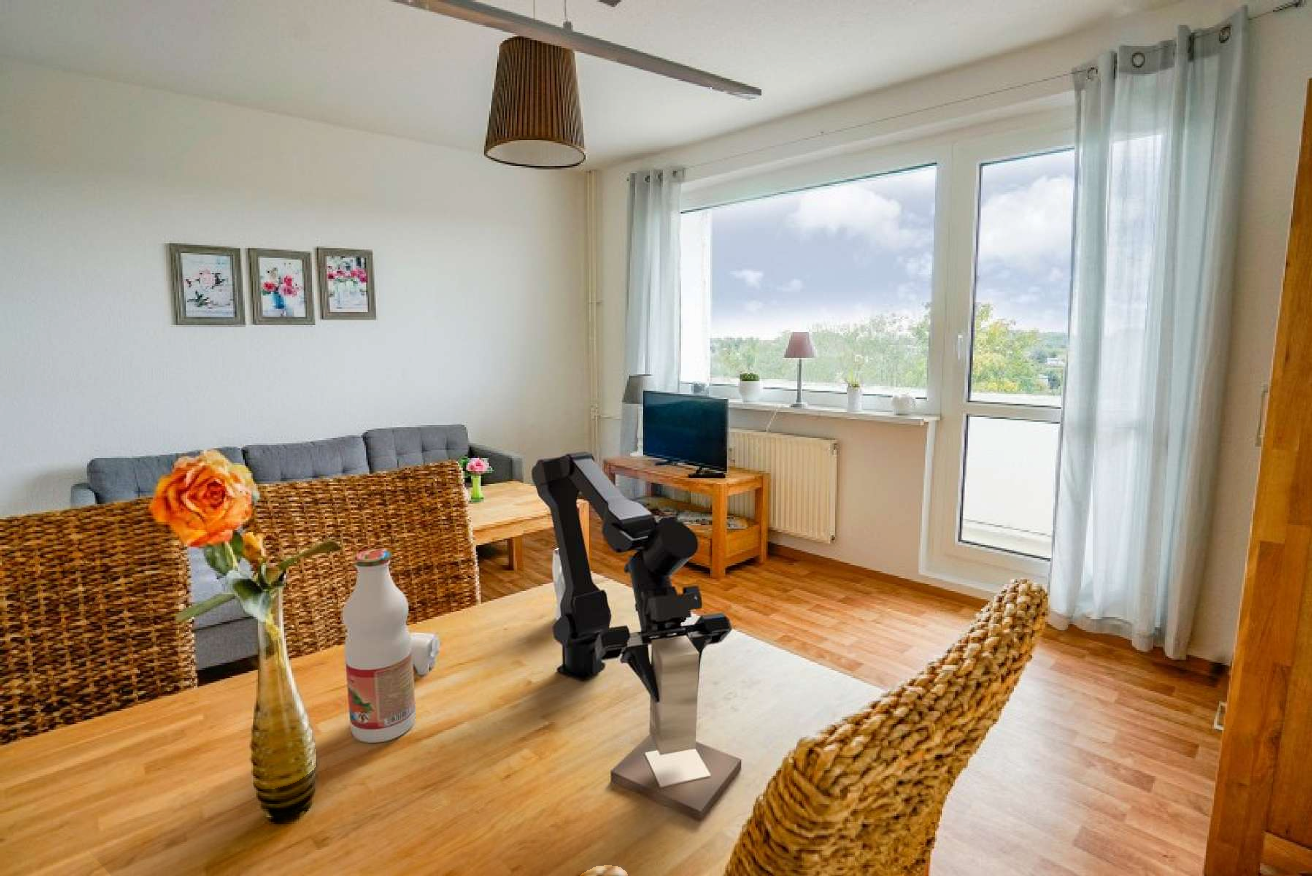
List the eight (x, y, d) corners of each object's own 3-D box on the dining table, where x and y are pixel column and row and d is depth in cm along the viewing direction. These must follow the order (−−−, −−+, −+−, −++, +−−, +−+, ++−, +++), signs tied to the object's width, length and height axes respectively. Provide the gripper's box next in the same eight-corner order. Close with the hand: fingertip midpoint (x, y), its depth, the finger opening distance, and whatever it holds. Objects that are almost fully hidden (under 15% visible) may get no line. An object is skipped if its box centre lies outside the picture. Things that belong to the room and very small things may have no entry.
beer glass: (580, 627, 137) (579, 558, 134) (548, 624, 138) (547, 555, 135) (590, 613, 143) (590, 546, 141) (560, 610, 145) (558, 544, 142)
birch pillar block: (649, 732, 93) (651, 640, 90) (682, 726, 94) (686, 635, 92) (660, 755, 88) (662, 658, 86) (695, 748, 90) (699, 653, 87)
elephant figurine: (453, 655, 125) (451, 620, 124) (427, 682, 116) (425, 644, 114) (416, 651, 126) (414, 616, 125) (387, 678, 117) (384, 640, 116)
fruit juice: (413, 739, 100) (402, 562, 95) (345, 749, 97) (330, 568, 93) (418, 704, 109) (408, 541, 104) (356, 713, 106) (343, 546, 101)
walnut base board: (610, 780, 91) (610, 769, 91) (657, 735, 101) (657, 725, 101) (700, 821, 84) (700, 809, 83) (741, 768, 94) (741, 758, 93)
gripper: (598, 573, 88) (619, 693, 80) (728, 559, 94) (760, 670, 85) (587, 604, 97) (604, 716, 88) (706, 590, 102) (733, 694, 94)
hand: (676, 698), depth 89 cm, fingers closed on birch pillar block, 5 cm apart
